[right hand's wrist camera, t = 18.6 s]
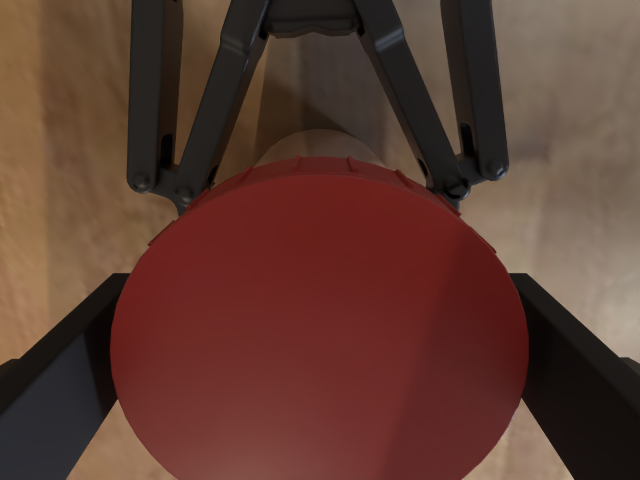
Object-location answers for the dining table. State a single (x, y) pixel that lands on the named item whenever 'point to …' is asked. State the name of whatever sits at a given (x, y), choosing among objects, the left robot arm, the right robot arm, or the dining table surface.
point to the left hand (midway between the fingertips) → (323, 319)
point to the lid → (319, 331)
